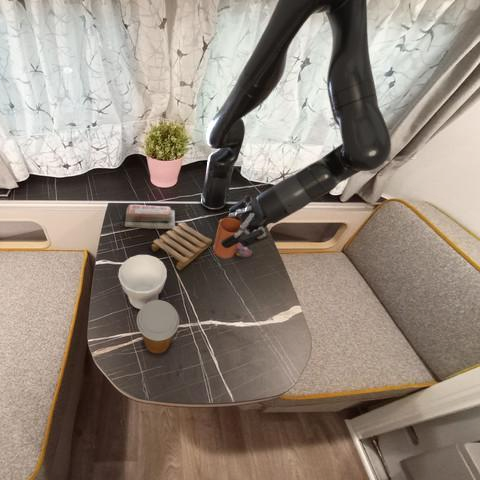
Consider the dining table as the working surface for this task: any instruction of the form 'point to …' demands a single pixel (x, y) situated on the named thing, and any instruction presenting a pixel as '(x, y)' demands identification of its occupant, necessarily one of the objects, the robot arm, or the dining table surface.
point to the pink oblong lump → (243, 251)
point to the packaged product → (150, 217)
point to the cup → (142, 279)
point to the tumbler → (224, 231)
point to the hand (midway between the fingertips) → (221, 236)
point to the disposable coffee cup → (157, 324)
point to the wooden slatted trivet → (174, 235)
